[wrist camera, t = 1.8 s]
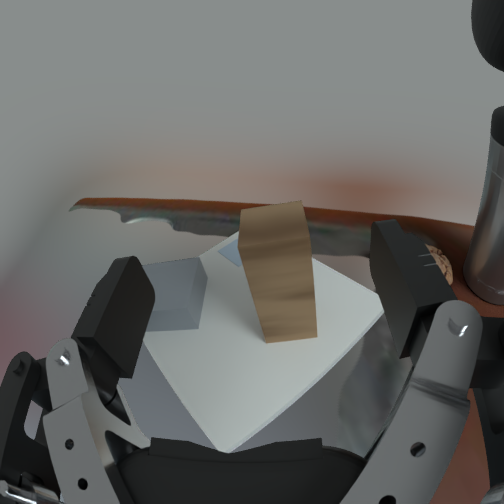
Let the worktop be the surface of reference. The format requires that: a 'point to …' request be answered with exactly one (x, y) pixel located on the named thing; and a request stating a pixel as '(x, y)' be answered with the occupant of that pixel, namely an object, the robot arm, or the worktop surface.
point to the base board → (243, 341)
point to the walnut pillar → (279, 270)
